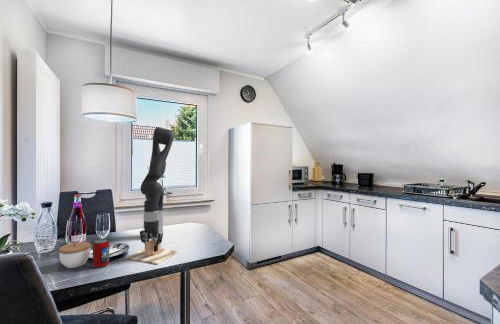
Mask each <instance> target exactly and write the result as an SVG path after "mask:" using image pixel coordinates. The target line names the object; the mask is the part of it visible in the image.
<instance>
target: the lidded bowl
mask: <svg viewBox="0 0 500 324" xmlns="http://www.w3.org/2000/svg"><path fill="white" fill-rule="evenodd" d="M91 247H92V243H91V242H89V241H88V242H87V241H74V242H72V243H68V244H65V245H62V246H61V247H59V248H58V257H59V261H60V263H61V264H62V266H64V267H66V269H75V268H78V267H81V266H83V265H84V264H85V263H86V262H87V260H88V259H89V258H90V255H91Z"/></svg>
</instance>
